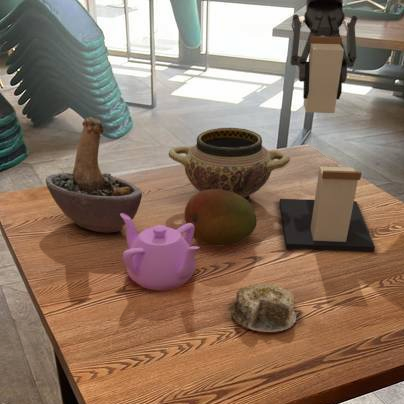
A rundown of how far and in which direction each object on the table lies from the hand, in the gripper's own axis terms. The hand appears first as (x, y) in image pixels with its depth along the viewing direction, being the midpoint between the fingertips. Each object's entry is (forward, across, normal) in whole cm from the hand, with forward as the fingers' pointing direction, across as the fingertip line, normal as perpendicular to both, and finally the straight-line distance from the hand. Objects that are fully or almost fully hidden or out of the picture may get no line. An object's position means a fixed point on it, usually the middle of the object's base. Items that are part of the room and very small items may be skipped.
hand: (322, 95), depth 119 cm
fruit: (+35, +20, +10) cm, 41 cm away
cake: (+52, +13, +26) cm, 60 cm away
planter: (+32, +44, +7) cm, 55 cm away
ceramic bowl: (+22, +19, -4) cm, 29 cm away
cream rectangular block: (0, 0, -4) cm, 4 cm away
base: (+29, 0, +4) cm, 30 cm away
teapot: (+44, +30, +19) cm, 57 cm away
